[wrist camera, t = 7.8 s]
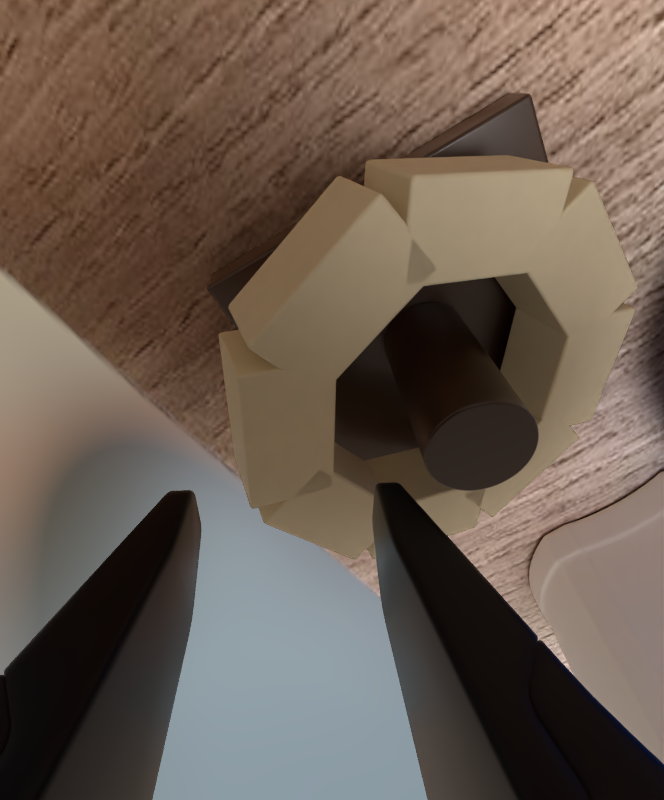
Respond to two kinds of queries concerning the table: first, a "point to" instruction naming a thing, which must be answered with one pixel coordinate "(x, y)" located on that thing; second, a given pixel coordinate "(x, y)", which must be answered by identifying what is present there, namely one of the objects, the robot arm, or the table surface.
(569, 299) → the ring
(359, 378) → the stand
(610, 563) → the jar
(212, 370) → the table surface
